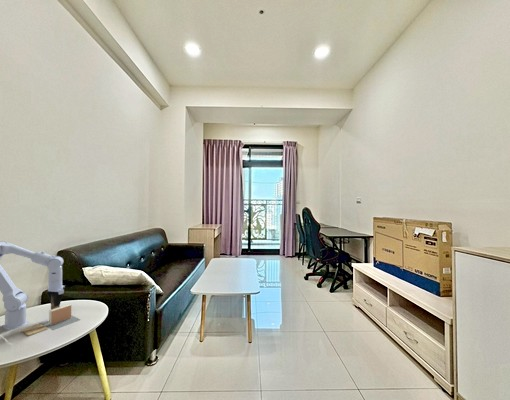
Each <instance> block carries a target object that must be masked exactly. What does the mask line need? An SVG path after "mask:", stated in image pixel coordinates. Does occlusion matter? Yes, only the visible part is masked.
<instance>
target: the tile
mask: <svg viewBox="0 0 510 400" xmlns="http://www.w3.org/2000/svg"><path fill="white" fill-rule="evenodd" d="M71 315H72V304H70V303H69V304H65V305H63V306H60V307H59V308H55V309H52V310H51V309H50V310H49V311H48V322H49V325H53V324H55V323H58V322H61V321H64V320H67V319H69V318H71Z"/></svg>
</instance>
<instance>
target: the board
mask: <svg viewBox="0 0 510 400" xmlns="http://www.w3.org/2000/svg"><path fill="white" fill-rule="evenodd" d="M47 330H48V327H47V326H45V325H43V323H38V324H35V325H32V326H28V327H25V328H22V329H21V332H22V333H24V334H25V335H26V336H27V337H30V336H33V335H36V334H40V333H41V332H44V331H47Z"/></svg>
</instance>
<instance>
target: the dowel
mask: <svg viewBox="0 0 510 400" xmlns="http://www.w3.org/2000/svg"><path fill="white" fill-rule="evenodd" d="M60 305H61V304H60ZM60 305H59V306H56V307H55V306H54V302H53V298H52V296H51V303H50V310H52V309H55V308H59V307H61V306H60Z"/></svg>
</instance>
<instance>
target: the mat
mask: <svg viewBox="0 0 510 400" xmlns="http://www.w3.org/2000/svg"><path fill="white" fill-rule="evenodd" d="M79 321H81V319H80V318H78V317H76V316H74V315H72V314H71V318H69V319H67V320H64V321H61V322H58V323H55V324H53V325H49V321H48V322H44V323H42V325H43V326H45V327H47V329H48V328H49V329H51V330H52V331H54V330H55V331H56V330H58V329H60V328H63V327H65V326H69V325H71V324H74V323H76V322H79Z"/></svg>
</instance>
